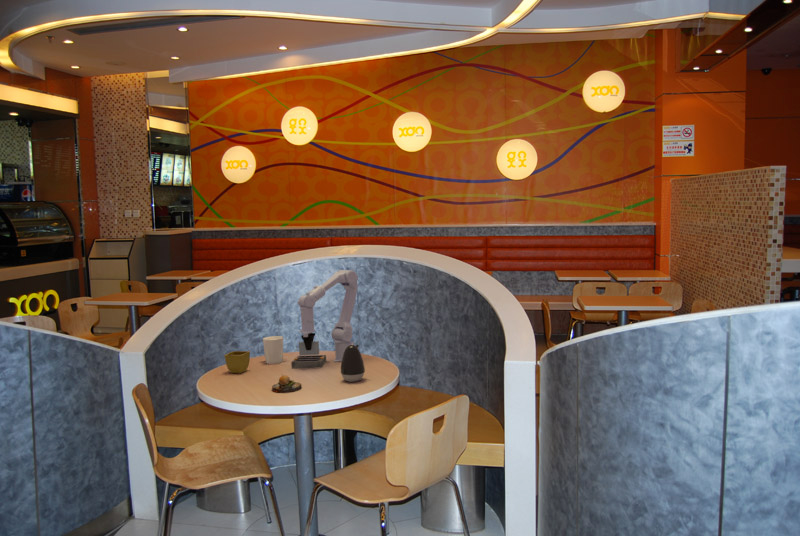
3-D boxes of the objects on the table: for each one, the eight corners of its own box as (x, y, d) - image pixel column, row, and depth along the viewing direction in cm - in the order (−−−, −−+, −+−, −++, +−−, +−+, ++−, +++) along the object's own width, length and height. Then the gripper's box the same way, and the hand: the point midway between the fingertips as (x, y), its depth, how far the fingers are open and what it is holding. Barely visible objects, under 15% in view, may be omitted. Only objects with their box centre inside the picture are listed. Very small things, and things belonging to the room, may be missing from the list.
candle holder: (260, 364, 299) (259, 339, 299) (270, 359, 309) (269, 336, 308) (278, 364, 297) (277, 340, 296) (288, 360, 306) (286, 336, 305)
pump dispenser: (369, 378, 263) (368, 343, 262) (357, 384, 254) (355, 347, 253) (349, 376, 268) (347, 341, 267) (336, 382, 258) (334, 346, 257)
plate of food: (307, 389, 251) (306, 370, 250) (282, 395, 243) (281, 376, 242) (290, 384, 259) (289, 366, 259) (266, 390, 251) (265, 372, 251)
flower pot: (224, 374, 281) (223, 354, 281) (234, 369, 290) (233, 350, 289) (242, 374, 279) (241, 355, 278) (251, 370, 288) (250, 351, 287)
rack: (326, 361, 300) (326, 354, 300) (321, 367, 287) (321, 360, 286) (298, 361, 301) (297, 355, 301) (291, 368, 287) (291, 361, 287)
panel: (319, 353, 289) (318, 341, 289) (318, 354, 287) (317, 341, 287) (300, 354, 289) (299, 341, 289) (299, 355, 287) (298, 342, 287)
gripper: (302, 318, 294) (303, 346, 295) (295, 323, 280) (297, 353, 281) (316, 318, 294) (318, 346, 295) (311, 323, 280) (312, 352, 281)
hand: (309, 349), depth 288 cm, fingers closed on panel, 2 cm apart
